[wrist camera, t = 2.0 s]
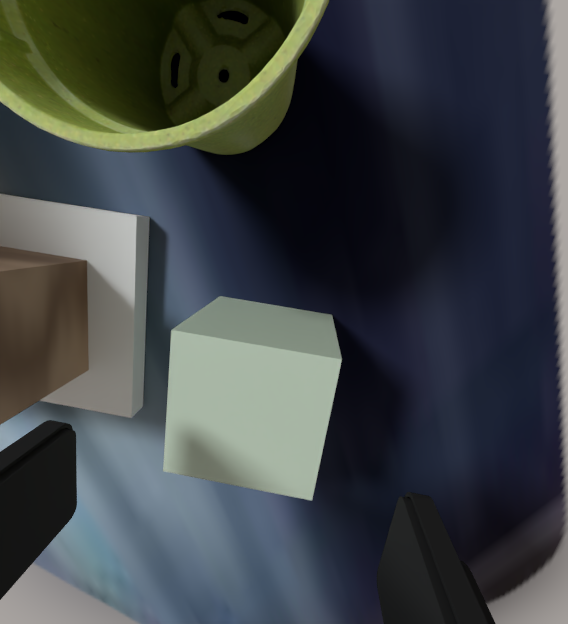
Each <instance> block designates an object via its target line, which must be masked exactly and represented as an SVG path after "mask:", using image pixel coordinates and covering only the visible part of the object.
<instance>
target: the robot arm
mask: <svg viewBox="0 0 568 624" xmlns="http://www.w3.org/2000/svg"><path fill="white" fill-rule="evenodd" d="M76 506H77V487H76V433H75V431H73V430H72V426H71V425H70V424H67V423H62V422H57V421H52V420H49V421H46V422H44V423H42V424H41V425H39V426H38V427H36V428H35V429H33V430H32V431H30V432H29V433H28V434H26V435H25V436H23V437H22V438H20V439H19V440H17V441H16V442H14V443H13V444H11V445H10V446H8V447H7V448H5V449H4V450H2V451H1V452H0V600H1V598H2V597H3V596H4V595H5V594H6V593H7V591H8V590H9V589H10V588H11V587H12V586H13V585H14V583H15V582H16V581H17V580H18V579H19V578H20V577H21V575H22V574H23V573H24V572H25V571H26V570H27V569H28V567H29V566H30V565H31V564H32V563H33V562H34V561H35V559H36V558H37V557H38V556H39V555H40V554H41V553H42V551H43V550H44V549H45V548H46V547H47V546H48V545H49V543H50V542H51V541H52V540H53V539H54V538H55V537H56V535H57V534H58V533H59V532H60V531H61V530H62V529H63V527H64V526H65V525H66V524H67V523H68V522H69V520H70V519H71V518H72V516H73V514H74V512H75V510H76ZM377 588H378V594H379V599H380V605H381V611H382V616H383V622H384V624H495V622H494V620H493V618H492V615H491V613H490V611H489V609H488V607H487V605H486V603H485V600H484V598H483V596H482V594H481V592H480V590H479V588H478V585H477V583H476V581H475V579H474V577H473V575H472V573H471V571H470V569H469V568H468V566H467V565H466V564H465V563H464V562H463V561H460V560H459V558H458V556H457V553H456V551H455V549H454V547H453V544H452V542H451V540H450V538H449V536H448V533H447V531H446V529H445V527H444V524H443V522H442V520H441V518H440V515H439V513H438V511H437V509H436V507H435V504H434V502H433V500H432V498H431V497H429V496H426V495H421V494H416V493H411V492H407V493H406V495H405V497H399V499H398V502H397V505H396V508H395V512H394V515H393V519H392V522H391V526H390V529H389V533H388V536H387V540H386V543H385V547H384V550H383V553H382V557H381V560H380V564H379V567H378V571H377Z"/></svg>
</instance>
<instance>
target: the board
mask: <svg viewBox="0 0 568 624" xmlns="http://www.w3.org/2000/svg"><path fill="white" fill-rule="evenodd" d="M149 218H150V217H147V216H141V215H134V214H128V213H121V212H115V211H109V210H102V209H96V208H89V207H83V206H77V205H70V204H64V203H57V202H51V201H44V200H38V199H32V198H25V197H19V196H12V195H6V194H0V246H3V247H9V248H15V249H21V250H27V251H33V252H40V253H46V254H52V255H58V256H64V257H70V258H76V259H82V260H87V294H88V356H89V370H88V371H86V372H85V373H83V374H81V375H80V376H78V377H77V378H75V379H73V380H72V381H70V382H68V383H67V384H65V385H64V386H62V387H60V388H59V389H57V390H55V391H54V392H52V393H51V394H49V395H47V396H46V397H44V398H42V399H41V400H39V401H44V402H50V403H55V404H60V405H65V406H71V407H76V408H81V409H86V410H92V411H97V412H102V413H107V414H113V415H118V416H123V417H128V418H132V417H133V416H134V415H135V414H136V413H137V412H138V411H139V410H140V409H141V408H142V407H143V392H144V363H145V334H146V305H147V276H148V247H149Z"/></svg>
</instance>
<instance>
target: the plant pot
mask: <svg viewBox="0 0 568 624" xmlns="http://www.w3.org/2000/svg"><path fill="white" fill-rule="evenodd" d="M328 2H329V0H0V102H1V103H3V104H4V105H5V106H7V107H8V108H10V109H11V110H12V111H13V112H15V113H16V114H18V115H19V116H21V117H22V118H24V119H25V120H27V121H29V122H30V123H32V124H33V125H35V126H37V127H38V128H40V129H42V130H45V131H47V132H49V133H51V134H53V135H55V136H58V137H60V138H63V139H65V140H68V141H71V142H74V143H77V144H81V145H84V146H88V147H92V148H97V149H102V150H107V151H116V152H150V151H158V150H165V149H172V148H176V147H180V146H184V145H187V146H191V147H194V148H197V149H200V150H204V151H207V152H211V153H215V154H222V155H231V154H239V153H243V152H246V151H249V150H251V149H253V148H254V147H256V146H257V145H259V144H260V143H262V142H263V141H264V140H266V139H267V138H268V137H269V136H270V135H271V134H272V133H273V132H274V131H275V130H276V129H277V128H278V126H279V125H280V123H281V122H282V120H283V118H284V117H285V114H286V112H287V110H288V107H289V104H290V102H291V97H292V93H293V86H294V81H295V74H296V67H297V60H298V58H299V57H300V55H301V54H302V52H303V51H304V49H305V48H306V46H307V45H308V43H309V41H310V39H311V37H312V36H313V34H314V32H315V30H316V28H317V26H318V24H319V22H320V20H321V18H322V16H323V13H324V11H325V9H326V7H327V5H328ZM225 11H238V12H241V13H243V14H245V15H246V16H247V17H248V23H247V24H242V23H240V22H236V21H233V20H229V19H227V20H225V19H223V17H222V18H218V17H217V15H219V14H220V13H222V12H225ZM176 53H179V55H180V56H181V57H180V61H179V68H178V80H177V82H178V87H176V88H174V87H173V86H172V84H171V62H172V58H173V56H174V54H176ZM223 69H225V70H227V71H228V72H229V79H228V81H227V82H225V83H222V82H221V81H220V80H219V77H218V76H219V72H220V71H221V70H223Z"/></svg>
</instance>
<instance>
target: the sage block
mask: <svg viewBox="0 0 568 624" xmlns="http://www.w3.org/2000/svg"><path fill="white" fill-rule="evenodd" d="M341 362H342V358H341V353H340V348H339V344H338V339H337V335H336V330H335V326H334V321H333V317H332V315H330V314H324V313H318V312H312V311H306V310H300V309H294V308H288V307H282V306H276V305H270V304H264V303H258V302H252V301H246V300H240V299H234V298H228V297H222V296H220V297H218V298H217V299H215V300H214V301H212V302H211V303H210V304H208V305H207V306H205V307H204V308H202V309H201V310H199V311H198V312H197V313H195V314H194V315H192V316H191V317H189V318H188V319H186V320H185V321H184V322H182V323H181V324H179V325H178V326H176V327H175V328H173V329H172V330H171V345H170V362H169V380H168V397H167V415H166V432H165V450H164V467H163V471H165V472H170V473H175V474H180V475H185V476H190V477H195V478H200V479H205V480H210V481H215V482H221V483H226V484H231V485H236V486H241V487H246V488H251V489H256V490H261V491H266V492H271V493H276V494H281V495H286V496H291V497H296V498H302V499H307V500H312V498H313V494H314V489H315V484H316V479H317V475H318V470H319V465H320V461H321V456H322V451H323V446H324V442H325V437H326V432H327V428H328V423H329V418H330V413H331V409H332V404H333V399H334V395H335V390H336V385H337V381H338V376H339V371H340V366H341Z"/></svg>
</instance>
